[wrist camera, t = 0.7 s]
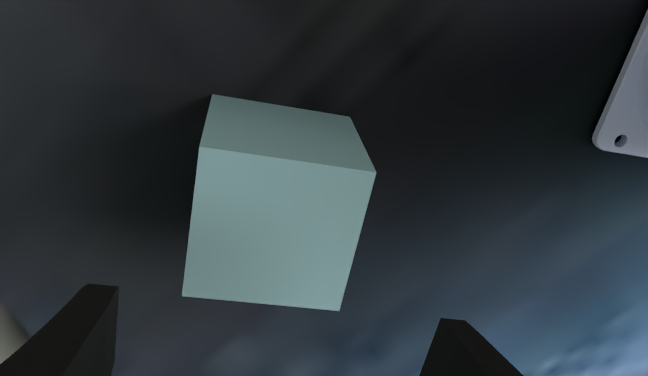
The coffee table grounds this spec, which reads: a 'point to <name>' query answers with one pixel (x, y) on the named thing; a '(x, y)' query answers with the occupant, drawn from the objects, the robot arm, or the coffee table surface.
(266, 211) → the teal cube
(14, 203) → the coffee table surface
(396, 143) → the coffee table surface
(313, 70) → the coffee table surface
